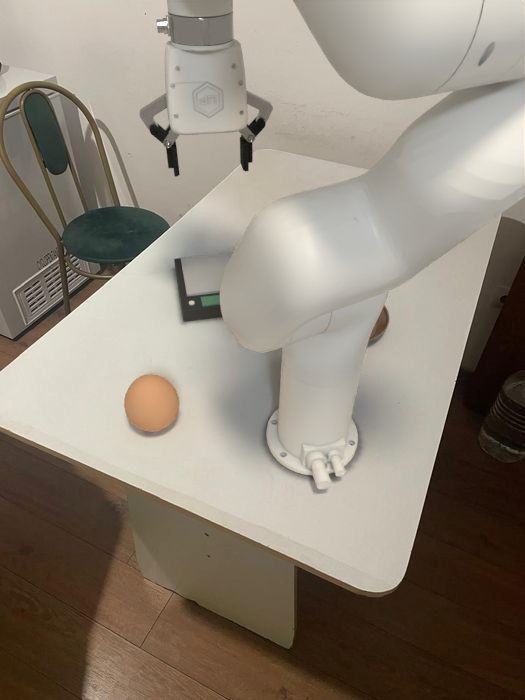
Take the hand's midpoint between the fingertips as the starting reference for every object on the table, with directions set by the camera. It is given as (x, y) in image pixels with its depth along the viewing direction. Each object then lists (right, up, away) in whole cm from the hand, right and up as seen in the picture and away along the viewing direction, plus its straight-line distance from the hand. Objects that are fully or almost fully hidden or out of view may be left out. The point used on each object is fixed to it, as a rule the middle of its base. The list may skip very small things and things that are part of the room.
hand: (210, 169), depth 72 cm
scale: (-1, -14, +23) cm, 27 cm away
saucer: (+21, -21, +17) cm, 34 cm away
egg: (-8, -36, +1) cm, 37 cm away
